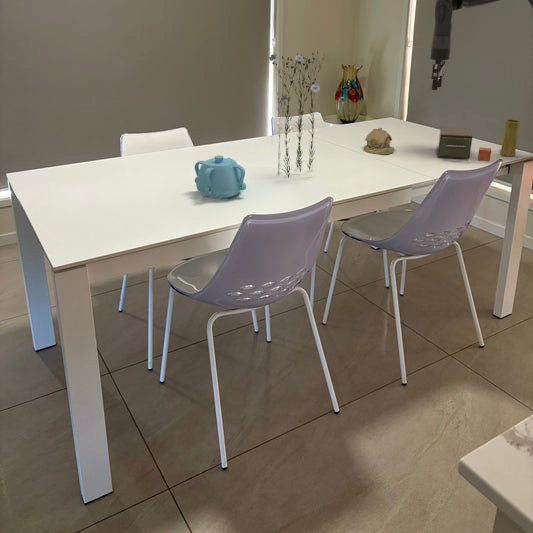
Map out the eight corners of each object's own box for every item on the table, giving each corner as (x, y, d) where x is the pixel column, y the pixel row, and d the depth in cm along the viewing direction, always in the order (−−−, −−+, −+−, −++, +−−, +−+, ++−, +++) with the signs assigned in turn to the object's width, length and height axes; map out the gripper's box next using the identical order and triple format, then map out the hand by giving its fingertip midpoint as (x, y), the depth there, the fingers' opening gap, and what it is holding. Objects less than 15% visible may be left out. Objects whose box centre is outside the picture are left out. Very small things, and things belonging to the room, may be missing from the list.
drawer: (468, 160, 239) (471, 141, 235) (439, 158, 241) (441, 139, 238) (466, 149, 254) (469, 131, 251) (439, 148, 257) (441, 130, 254)
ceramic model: (358, 150, 259) (359, 127, 255) (374, 145, 265) (376, 123, 261) (383, 156, 249) (385, 132, 245) (399, 151, 256) (401, 128, 252)
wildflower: (310, 164, 238) (312, 46, 219) (335, 180, 219) (340, 52, 199) (258, 170, 231) (256, 49, 212) (279, 187, 212) (279, 55, 192)
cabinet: (469, 159, 244) (472, 135, 240) (437, 157, 247) (440, 134, 243) (467, 150, 256) (470, 128, 252) (437, 148, 259) (440, 127, 255)
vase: (499, 155, 248) (505, 121, 242) (499, 152, 253) (505, 118, 247) (515, 157, 246) (521, 122, 240) (515, 153, 251) (521, 119, 245)
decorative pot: (200, 204, 197) (198, 164, 191) (194, 189, 211) (191, 152, 205) (248, 199, 200) (247, 160, 194) (238, 185, 214) (237, 148, 208)
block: (477, 157, 245) (479, 147, 243) (489, 158, 244) (490, 148, 242) (478, 160, 241) (480, 150, 239) (489, 161, 240) (491, 150, 238)
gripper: (447, 49, 231) (442, 91, 238) (453, 46, 243) (448, 86, 250) (428, 48, 234) (423, 90, 241) (435, 45, 246) (430, 85, 253)
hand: (436, 88), depth 246 cm, fingers open, 8 cm apart
